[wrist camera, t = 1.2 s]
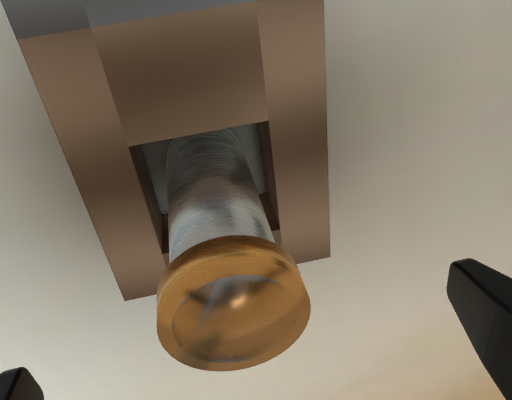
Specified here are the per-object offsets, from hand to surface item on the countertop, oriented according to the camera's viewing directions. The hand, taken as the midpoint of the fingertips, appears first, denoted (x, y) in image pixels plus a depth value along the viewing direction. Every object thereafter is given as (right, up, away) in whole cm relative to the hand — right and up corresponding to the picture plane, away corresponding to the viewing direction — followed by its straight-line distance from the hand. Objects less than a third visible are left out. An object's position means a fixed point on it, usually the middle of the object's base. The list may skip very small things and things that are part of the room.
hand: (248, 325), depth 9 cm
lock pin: (-2, +5, +12) cm, 13 cm away
